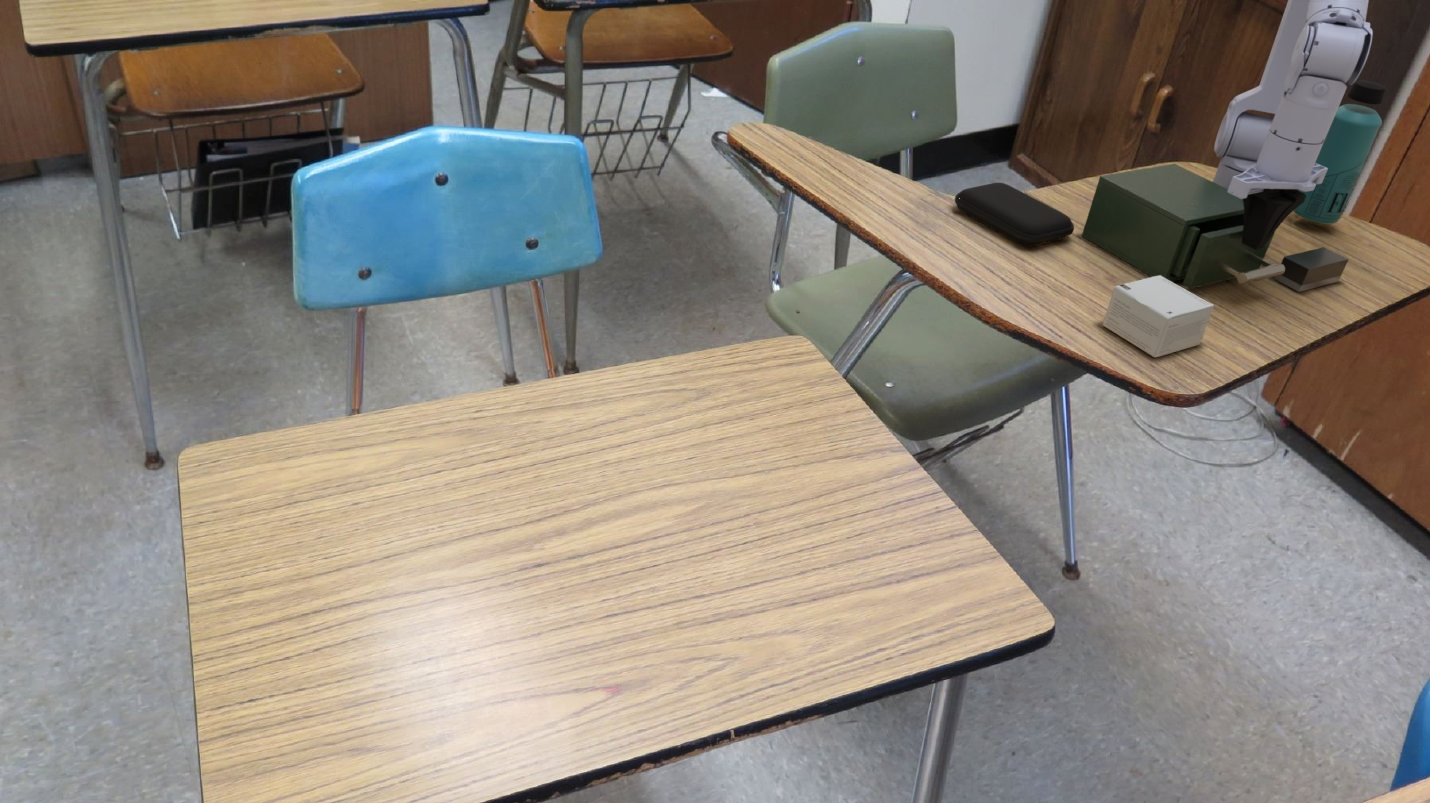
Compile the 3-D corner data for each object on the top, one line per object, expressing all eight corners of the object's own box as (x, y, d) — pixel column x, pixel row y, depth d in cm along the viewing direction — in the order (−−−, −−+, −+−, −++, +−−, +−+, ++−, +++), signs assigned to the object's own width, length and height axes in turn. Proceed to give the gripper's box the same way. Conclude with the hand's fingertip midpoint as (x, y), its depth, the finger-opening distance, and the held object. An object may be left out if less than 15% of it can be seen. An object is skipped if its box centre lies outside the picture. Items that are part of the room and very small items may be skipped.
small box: (1201, 345, 119) (1217, 305, 117) (1153, 359, 116) (1168, 318, 113) (1146, 312, 125) (1161, 273, 122) (1099, 325, 121) (1112, 285, 118)
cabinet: (1238, 266, 138) (1262, 205, 133) (1163, 283, 132) (1186, 220, 127) (1154, 221, 148) (1174, 163, 143) (1081, 236, 141) (1099, 175, 137)
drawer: (1290, 289, 132) (1312, 239, 128) (1221, 307, 126) (1242, 255, 122) (1177, 229, 144) (1194, 182, 140) (1110, 243, 138) (1126, 194, 134)
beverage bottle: (1318, 237, 148) (1382, 94, 137) (1276, 218, 152) (1334, 77, 141) (1345, 229, 151) (1409, 89, 140) (1303, 211, 156) (1361, 73, 144)
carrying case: (1083, 239, 141) (1001, 195, 150) (1089, 217, 139) (1006, 175, 149) (1026, 254, 135) (946, 207, 145) (1032, 231, 134) (950, 186, 143)
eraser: (1313, 269, 139) (1323, 247, 137) (1338, 281, 137) (1348, 259, 135) (1273, 279, 136) (1283, 256, 134) (1298, 292, 133) (1308, 269, 131)
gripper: (1286, 155, 114) (1239, 269, 122) (1368, 141, 121) (1319, 250, 128) (1231, 131, 119) (1190, 243, 127) (1313, 119, 126) (1269, 226, 133)
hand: (1251, 245), depth 128 cm, fingers closed
